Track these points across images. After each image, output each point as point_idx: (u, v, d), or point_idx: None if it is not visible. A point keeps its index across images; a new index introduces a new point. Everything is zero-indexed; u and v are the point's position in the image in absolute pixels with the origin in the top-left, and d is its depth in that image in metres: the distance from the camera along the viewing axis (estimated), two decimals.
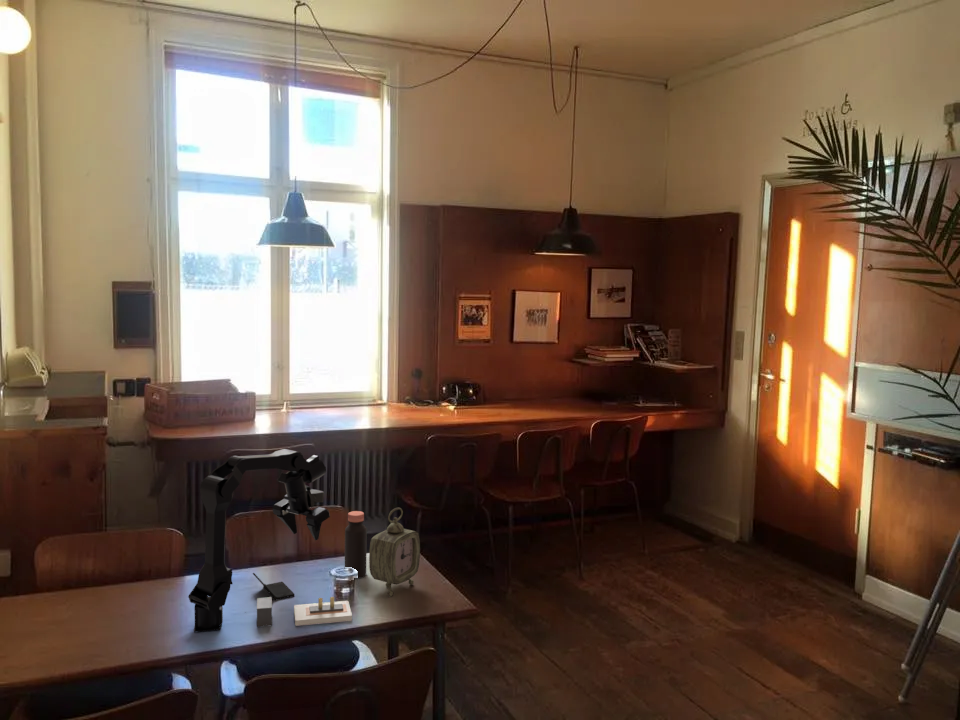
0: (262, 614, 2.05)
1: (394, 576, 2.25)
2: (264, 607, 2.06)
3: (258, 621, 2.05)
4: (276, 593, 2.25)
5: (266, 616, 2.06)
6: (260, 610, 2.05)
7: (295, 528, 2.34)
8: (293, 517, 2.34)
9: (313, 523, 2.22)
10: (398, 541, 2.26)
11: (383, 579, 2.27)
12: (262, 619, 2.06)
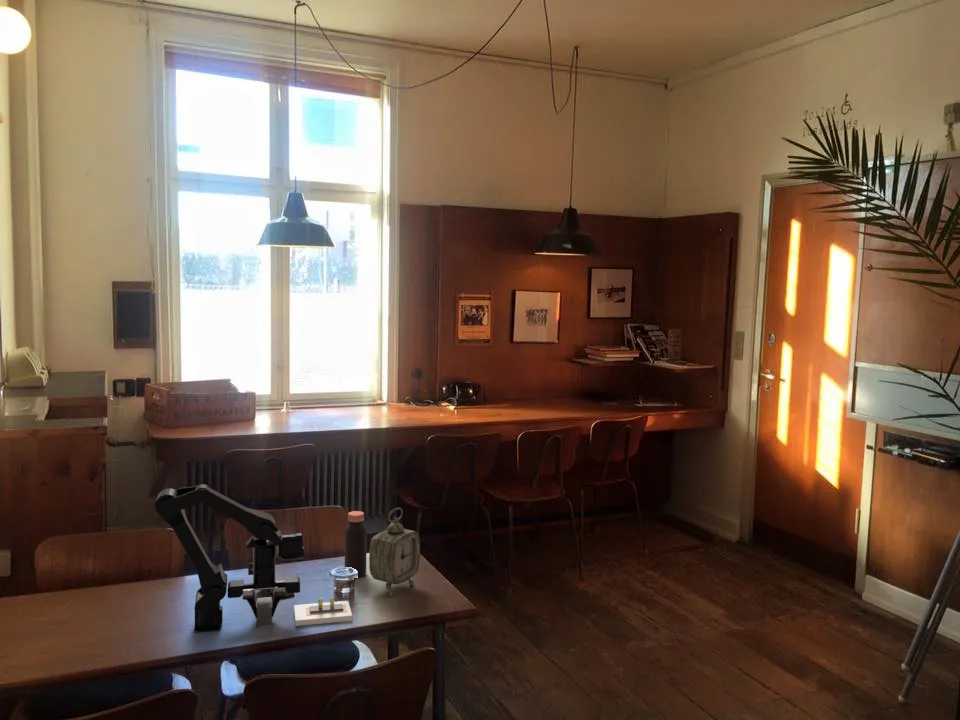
0: (262, 614, 2.05)
1: (394, 576, 2.25)
2: (264, 607, 2.06)
3: (258, 621, 2.05)
4: None
5: (266, 616, 2.06)
6: (260, 610, 2.05)
7: None
8: (254, 598, 2.09)
9: (296, 590, 2.08)
10: (398, 541, 2.26)
11: (383, 579, 2.27)
12: (262, 619, 2.06)
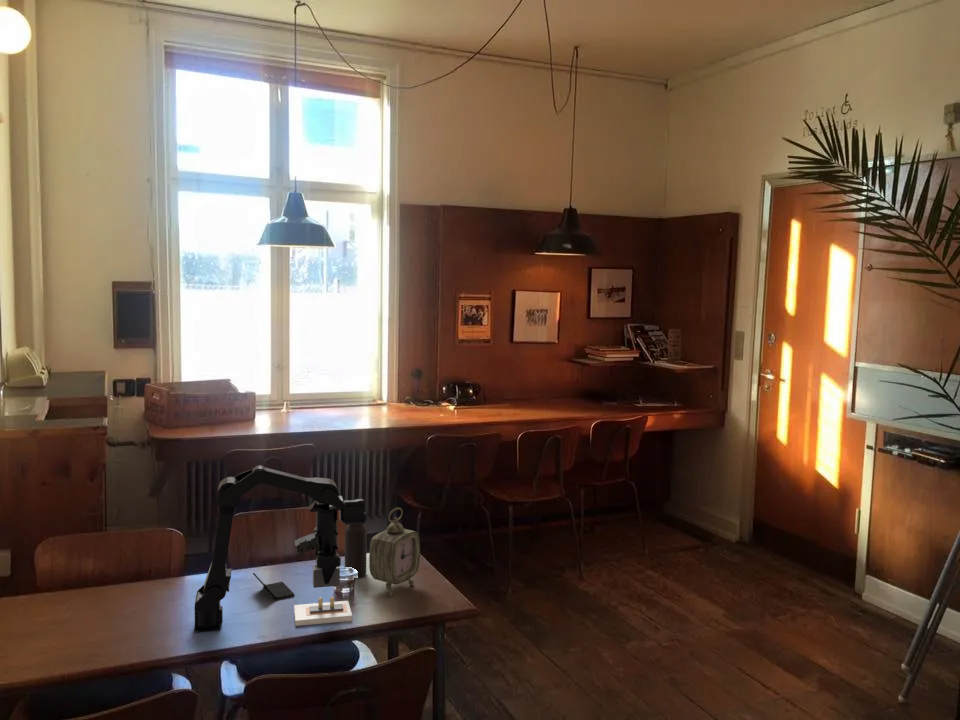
0: None
1: (394, 576, 2.25)
2: None
3: (339, 580, 2.12)
4: (276, 593, 2.25)
5: None
6: None
7: None
8: None
9: None
10: (398, 541, 2.26)
11: (383, 579, 2.27)
12: None
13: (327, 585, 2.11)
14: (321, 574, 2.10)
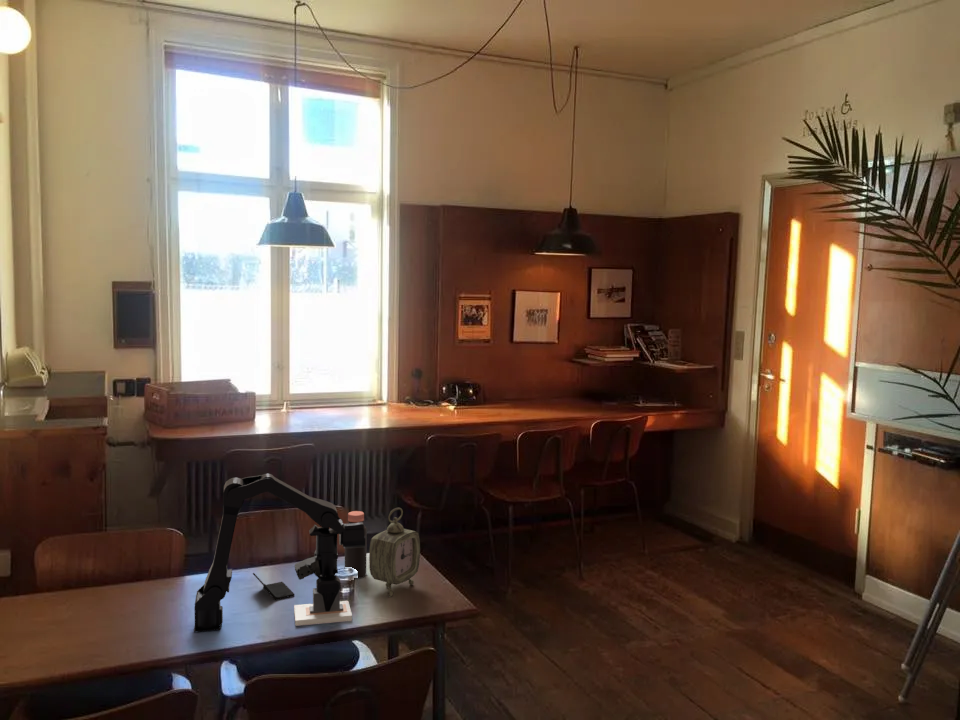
0: None
1: (394, 576, 2.25)
2: None
3: (339, 603, 2.13)
4: (276, 593, 2.25)
5: None
6: (339, 592, 2.13)
7: None
8: None
9: None
10: (398, 541, 2.26)
11: (383, 579, 2.27)
12: None
13: None
14: (321, 598, 2.11)
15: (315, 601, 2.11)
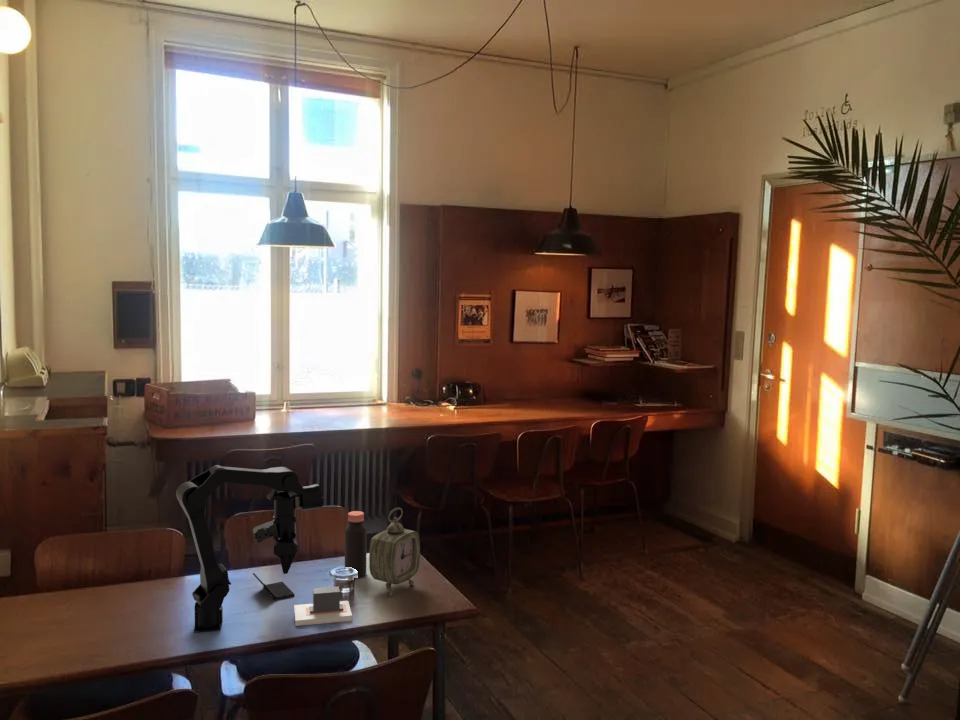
0: None
1: (394, 576, 2.25)
2: (337, 589, 2.14)
3: (339, 603, 2.13)
4: (276, 593, 2.25)
5: None
6: (339, 592, 2.13)
7: None
8: None
9: None
10: (398, 541, 2.26)
11: (383, 579, 2.27)
12: None
13: (327, 609, 2.12)
14: (321, 598, 2.11)
15: (315, 601, 2.11)
